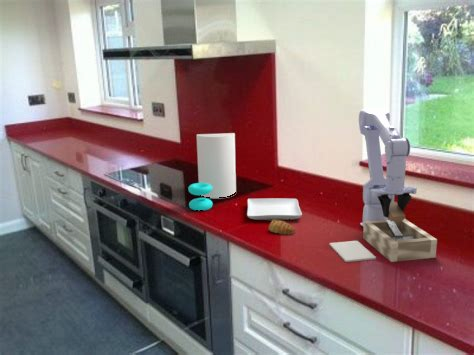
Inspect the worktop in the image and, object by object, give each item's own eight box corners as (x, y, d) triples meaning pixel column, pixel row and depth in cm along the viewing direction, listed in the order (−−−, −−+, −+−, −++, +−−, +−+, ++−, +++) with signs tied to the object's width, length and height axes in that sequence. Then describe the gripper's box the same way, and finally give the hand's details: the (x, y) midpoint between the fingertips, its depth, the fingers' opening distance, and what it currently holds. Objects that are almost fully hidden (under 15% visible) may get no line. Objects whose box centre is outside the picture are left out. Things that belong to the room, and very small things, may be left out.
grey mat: (329, 244, 160) (329, 243, 160) (357, 242, 161) (357, 240, 161) (345, 262, 146) (345, 260, 146) (375, 259, 148) (376, 257, 148)
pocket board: (362, 237, 165) (363, 221, 163) (402, 234, 167) (403, 218, 166) (391, 262, 146) (392, 243, 144) (435, 257, 148) (437, 239, 147)
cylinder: (237, 197, 214) (236, 136, 207) (199, 199, 213) (196, 137, 206) (234, 187, 231) (233, 130, 223) (199, 188, 230) (196, 131, 222)
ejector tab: (375, 223, 160) (376, 220, 159) (402, 221, 162) (403, 217, 161) (392, 254, 150) (394, 251, 149) (421, 251, 151) (423, 248, 150)
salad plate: (302, 222, 182) (302, 214, 181) (247, 223, 183) (247, 215, 182) (297, 205, 202) (297, 197, 202) (247, 206, 203) (247, 198, 202)
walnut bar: (382, 207, 158) (383, 202, 157) (394, 206, 159) (396, 201, 158) (391, 221, 153) (392, 216, 151) (403, 220, 153) (405, 215, 152)
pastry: (298, 231, 173) (298, 221, 172) (290, 237, 168) (290, 227, 167) (275, 226, 178) (275, 217, 177) (266, 232, 173) (266, 222, 172)
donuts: (190, 181, 204) (213, 182, 203) (191, 203, 206) (214, 204, 205) (185, 188, 194) (209, 188, 193) (186, 211, 197) (210, 211, 196)
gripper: (380, 180, 147) (378, 221, 151) (423, 177, 150) (419, 218, 153) (370, 175, 154) (368, 214, 157) (411, 172, 156) (408, 211, 160)
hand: (392, 215), depth 156 cm, fingers closed on walnut bar, 4 cm apart
